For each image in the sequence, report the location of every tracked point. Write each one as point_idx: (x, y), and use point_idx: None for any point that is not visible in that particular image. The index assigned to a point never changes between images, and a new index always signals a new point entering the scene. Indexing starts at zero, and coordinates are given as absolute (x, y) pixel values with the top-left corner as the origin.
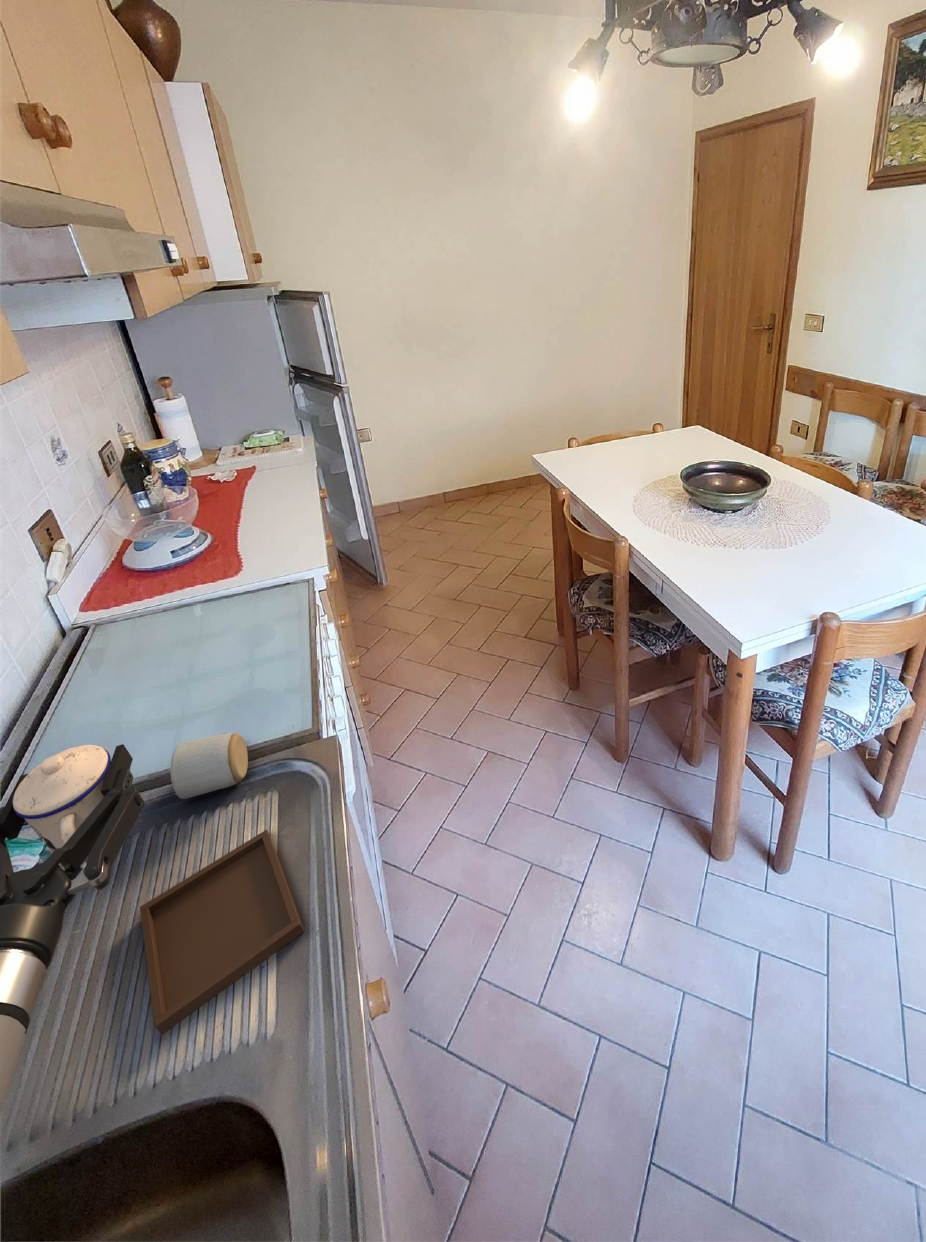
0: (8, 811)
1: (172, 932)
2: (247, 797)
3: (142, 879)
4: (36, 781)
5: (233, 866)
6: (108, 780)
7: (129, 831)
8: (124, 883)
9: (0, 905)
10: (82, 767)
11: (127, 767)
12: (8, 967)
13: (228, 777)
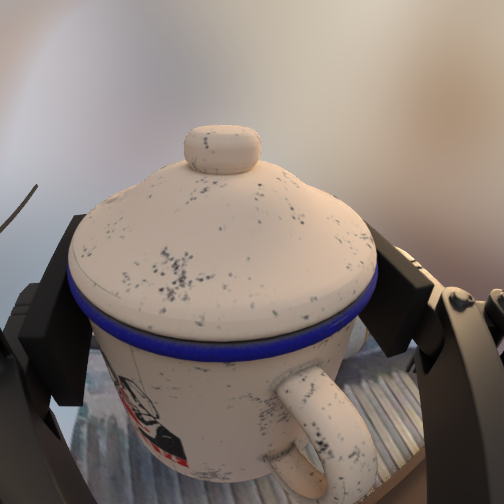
0: (54, 295)
1: None
2: (365, 378)
3: (256, 486)
4: (170, 188)
5: (418, 472)
6: (404, 261)
7: None
8: (225, 487)
9: None
10: (314, 194)
11: (395, 247)
12: None
13: (359, 344)
